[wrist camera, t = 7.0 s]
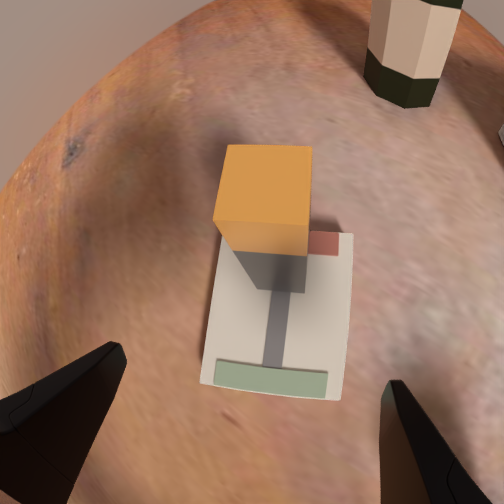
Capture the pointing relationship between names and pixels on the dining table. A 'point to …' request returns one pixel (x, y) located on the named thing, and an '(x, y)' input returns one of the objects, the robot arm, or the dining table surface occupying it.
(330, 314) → the plate
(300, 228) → the lever
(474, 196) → the dining table surface
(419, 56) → the wine bottle
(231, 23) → the dining table surface
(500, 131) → the tea box
